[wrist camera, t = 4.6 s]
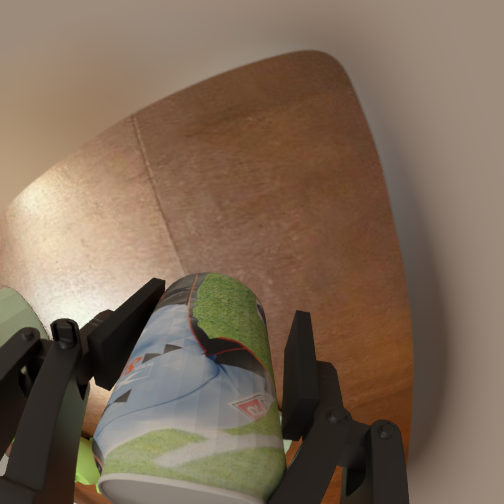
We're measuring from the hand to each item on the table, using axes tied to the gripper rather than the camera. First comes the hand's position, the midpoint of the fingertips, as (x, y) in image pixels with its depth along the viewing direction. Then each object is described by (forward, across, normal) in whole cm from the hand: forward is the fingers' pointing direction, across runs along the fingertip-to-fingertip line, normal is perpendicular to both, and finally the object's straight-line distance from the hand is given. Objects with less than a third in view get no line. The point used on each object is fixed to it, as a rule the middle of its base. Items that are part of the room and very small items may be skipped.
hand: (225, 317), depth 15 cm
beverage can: (+1, 0, 0) cm, 1 cm away
